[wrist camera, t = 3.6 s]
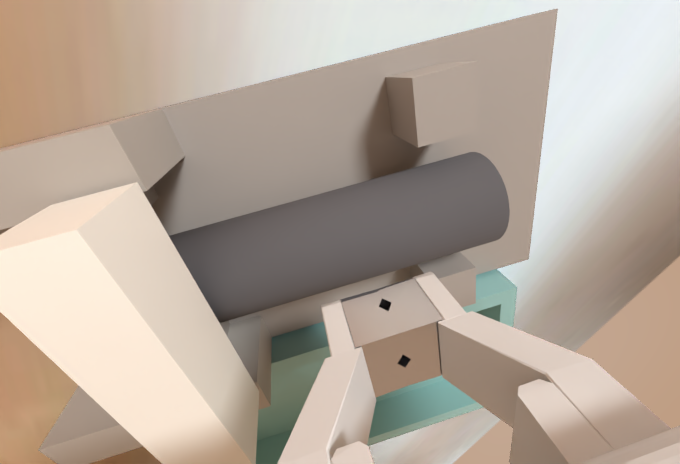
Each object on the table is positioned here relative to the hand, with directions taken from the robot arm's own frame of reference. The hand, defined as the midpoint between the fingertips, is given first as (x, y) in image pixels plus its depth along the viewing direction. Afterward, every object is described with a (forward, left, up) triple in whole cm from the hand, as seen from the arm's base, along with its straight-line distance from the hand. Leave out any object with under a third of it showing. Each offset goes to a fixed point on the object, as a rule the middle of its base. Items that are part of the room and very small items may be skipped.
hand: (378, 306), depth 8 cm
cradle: (+2, 0, -7) cm, 7 cm away
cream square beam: (+6, 0, -2) cm, 6 cm away
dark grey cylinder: (+2, 0, -6) cm, 6 cm away
